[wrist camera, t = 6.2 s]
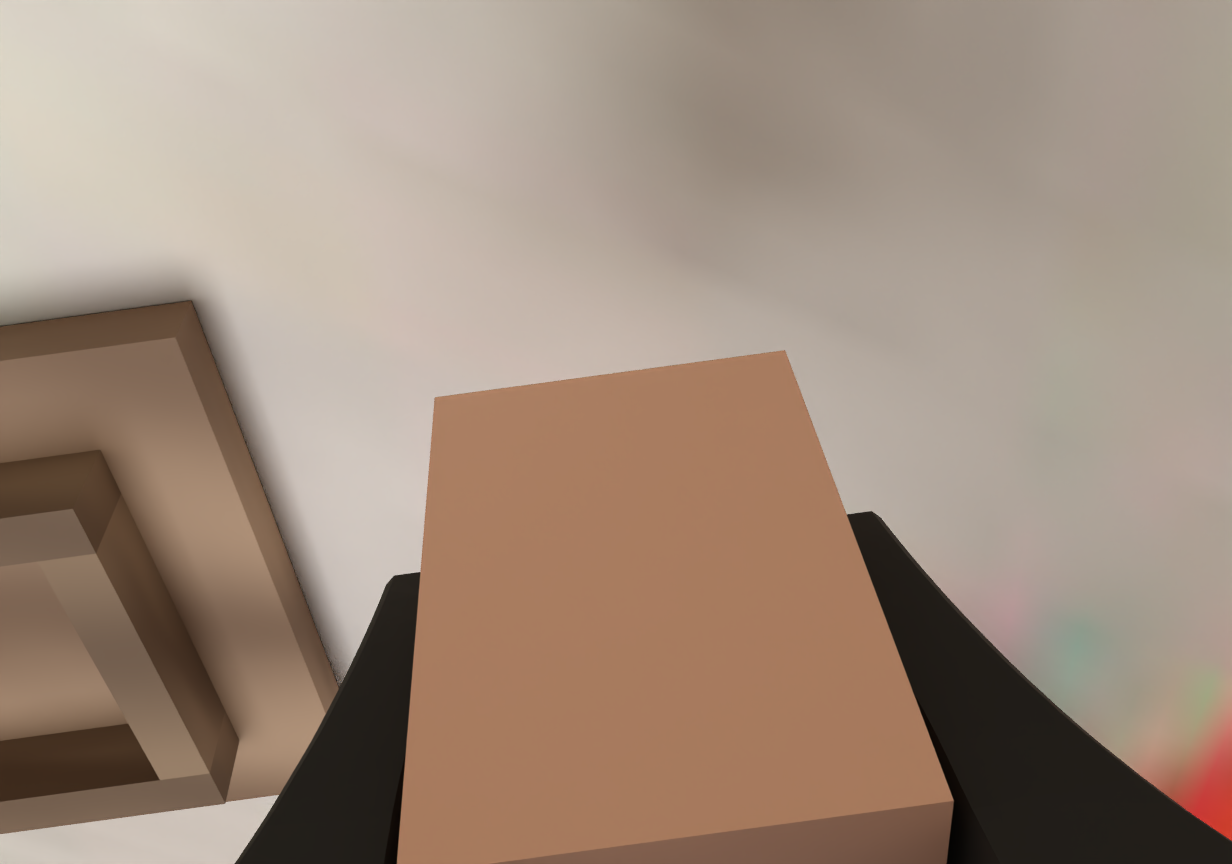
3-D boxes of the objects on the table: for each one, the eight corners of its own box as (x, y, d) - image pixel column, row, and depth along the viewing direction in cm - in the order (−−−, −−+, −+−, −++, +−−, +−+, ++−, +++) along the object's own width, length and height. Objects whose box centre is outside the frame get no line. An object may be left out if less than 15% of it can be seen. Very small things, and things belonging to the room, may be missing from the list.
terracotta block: (790, 600, 15) (923, 1062, 10) (494, 640, 15) (491, 1121, 10) (785, 350, 13) (953, 800, 8) (434, 397, 13) (396, 876, 8)
